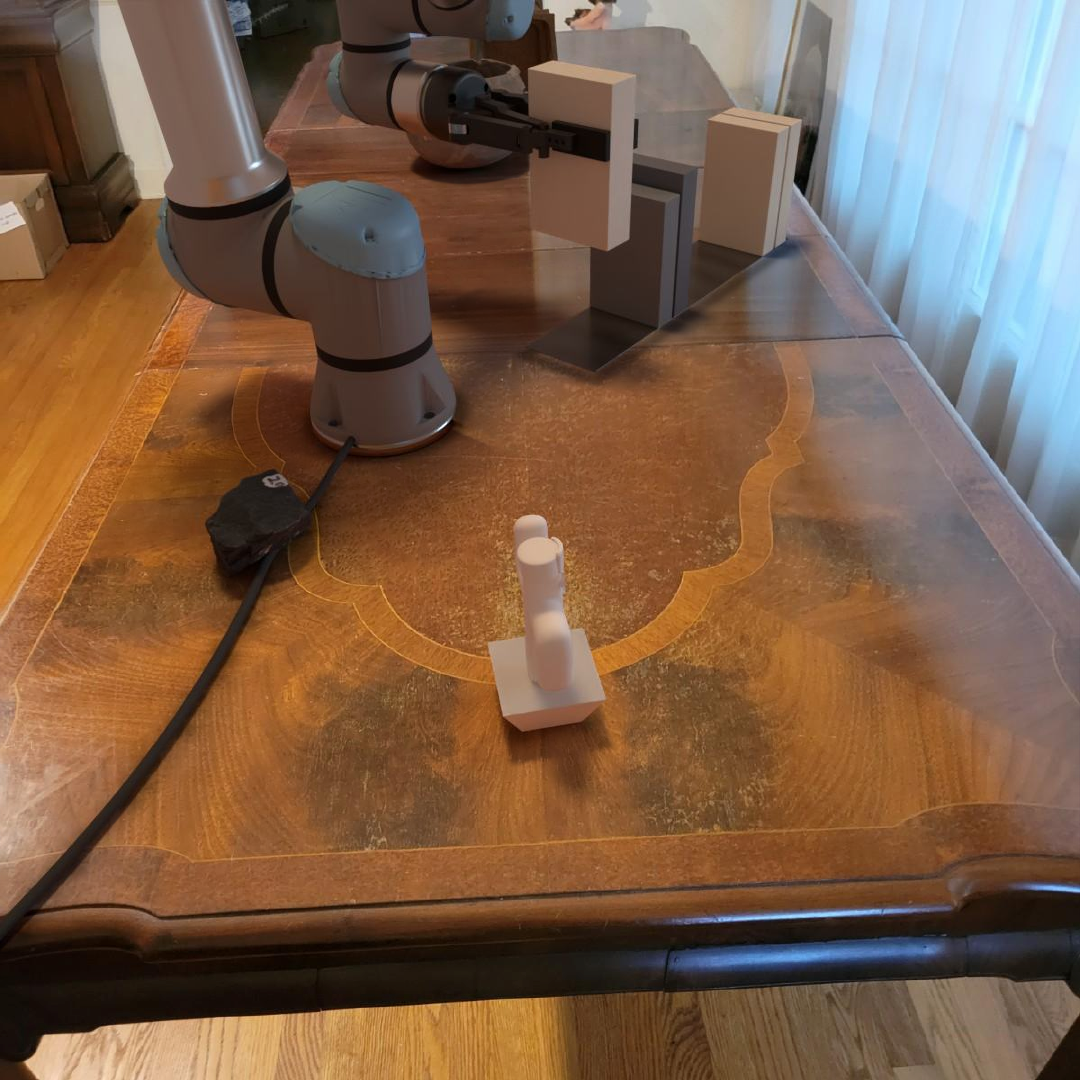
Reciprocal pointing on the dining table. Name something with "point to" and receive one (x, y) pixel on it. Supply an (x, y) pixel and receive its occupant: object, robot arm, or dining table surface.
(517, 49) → the ornamental box
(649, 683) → the dining table surface
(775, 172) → the white books
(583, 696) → the figurine
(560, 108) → the white book
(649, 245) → the grey books
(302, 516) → the mineral
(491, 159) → the clay pot
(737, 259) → the black base plate
